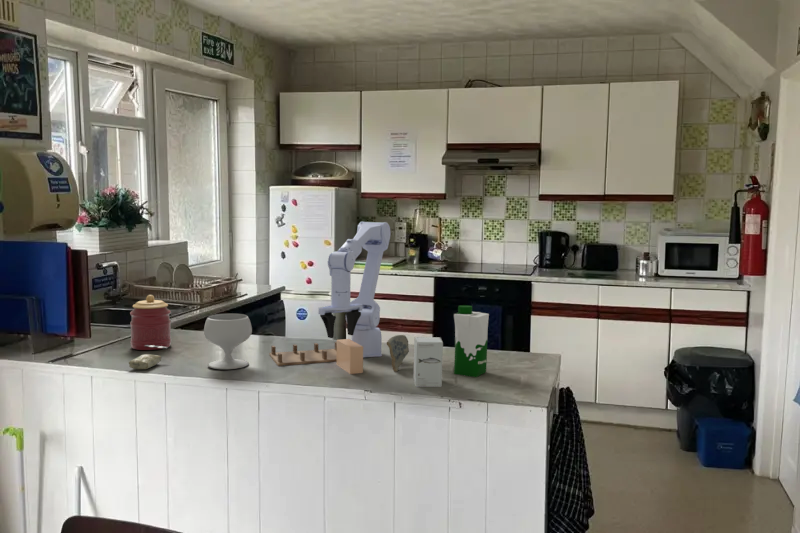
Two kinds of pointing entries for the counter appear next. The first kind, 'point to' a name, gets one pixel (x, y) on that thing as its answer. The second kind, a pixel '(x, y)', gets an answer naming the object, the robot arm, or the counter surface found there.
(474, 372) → the milk carton
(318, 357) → the comb rack
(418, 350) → the supplement box
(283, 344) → the counter surface
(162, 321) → the canister
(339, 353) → the tan rectangular block
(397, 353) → the ceramic fragment
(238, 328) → the chalice
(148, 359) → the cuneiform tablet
